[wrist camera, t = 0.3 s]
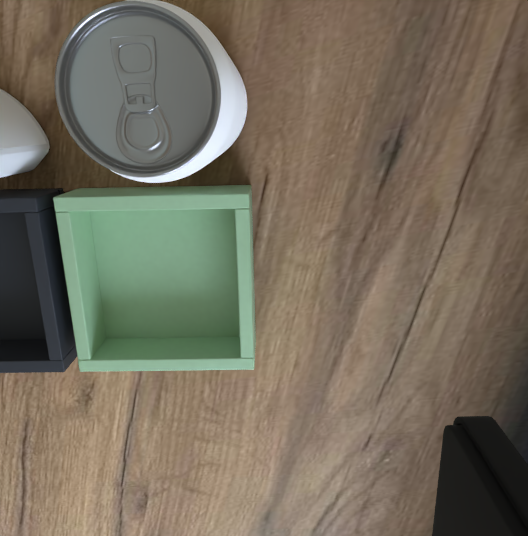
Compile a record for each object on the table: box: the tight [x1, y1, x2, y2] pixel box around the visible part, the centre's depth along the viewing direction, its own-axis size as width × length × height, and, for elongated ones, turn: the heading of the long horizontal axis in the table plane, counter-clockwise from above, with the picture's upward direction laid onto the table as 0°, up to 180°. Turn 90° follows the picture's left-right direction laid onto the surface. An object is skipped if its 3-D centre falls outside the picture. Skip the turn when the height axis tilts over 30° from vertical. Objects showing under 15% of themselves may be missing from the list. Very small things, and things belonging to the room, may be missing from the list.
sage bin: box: [53, 185, 256, 372], centre depth 29 cm, size 11×11×4 cm
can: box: [55, 0, 247, 183], centre depth 22 cm, size 6×6×12 cm
